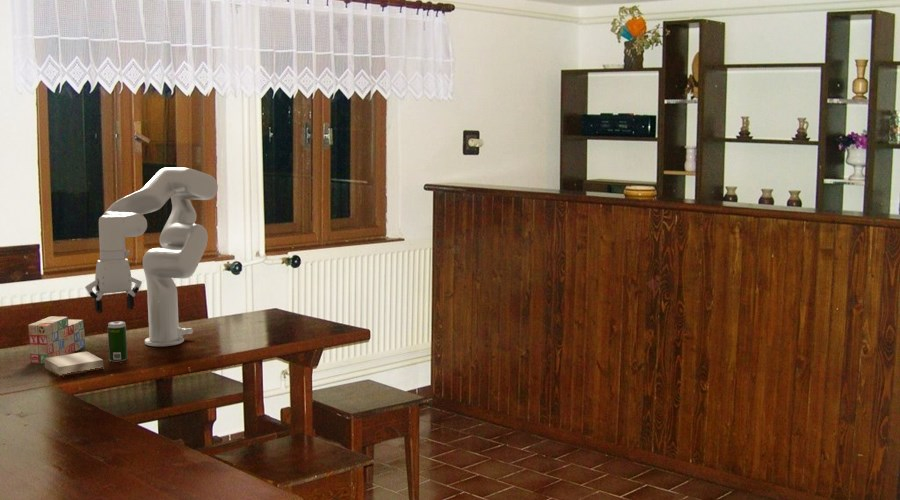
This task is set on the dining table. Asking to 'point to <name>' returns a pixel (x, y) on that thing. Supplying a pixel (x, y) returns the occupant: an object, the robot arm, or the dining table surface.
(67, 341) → the stack of blocks
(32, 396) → the dining table surface
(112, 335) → the beer can
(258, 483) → the dining table surface
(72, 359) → the birch base block
